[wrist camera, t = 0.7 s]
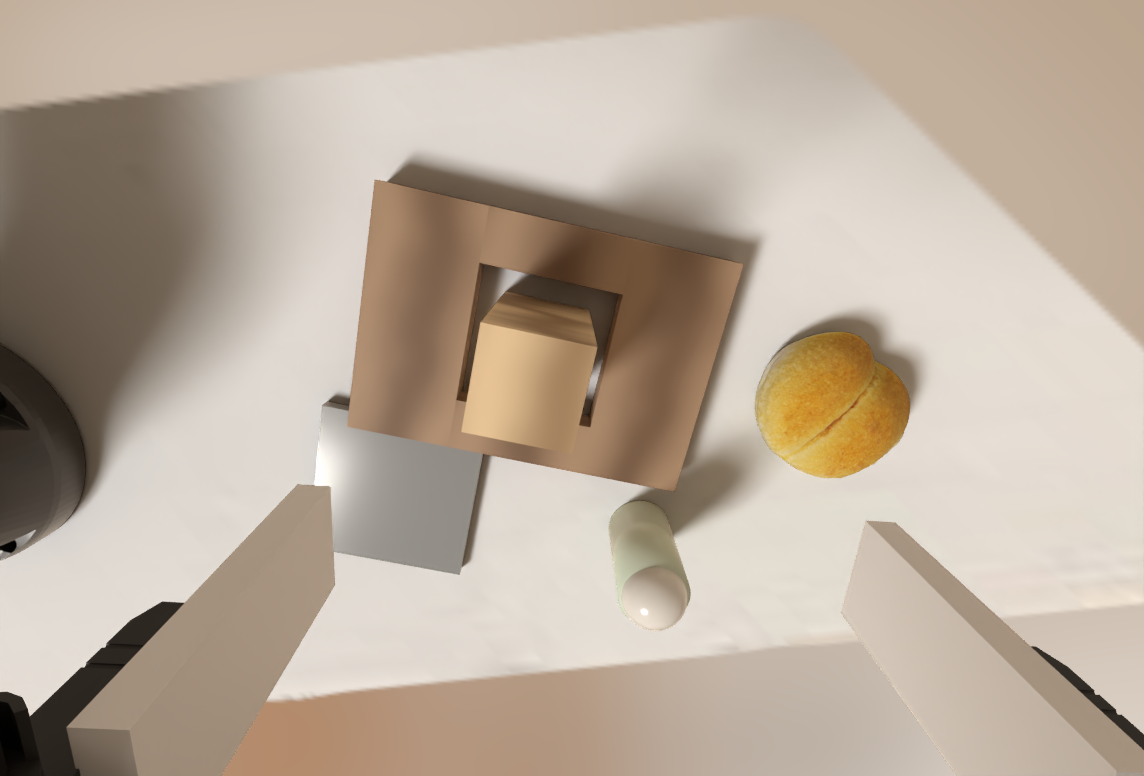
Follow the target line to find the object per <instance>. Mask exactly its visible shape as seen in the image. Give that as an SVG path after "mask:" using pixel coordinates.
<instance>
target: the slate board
mask: <svg viewBox="0 0 1144 776" xmlns="http://www.w3.org/2000/svg"><path fill="white" fill-rule="evenodd" d="M348 414H349V406H348V405H343V404H338V403H333V402H328V401H327V402H326V403H325V404H323V405H322V411H321V421H320V431H319V442H318V452H317V462H316V472H315V483H314V485H315V486H331V508H332V530H333V552H338V553H343V554H349V555H354V556H360V557H365V558H371V559H376V560H382V561H387V562H393V563H398V564H404V565H409V566H415V567H420V568H426V569H431V570H437V571H442V572H447V573H453V574H458V575H460V572H461V569H462V564H463V559H464V554H465V548H466V543H467V538H468V533H469V527H470V522H471V517H472V511H473V506H474V501H475V496H476V490H477V485H478V480H479V475H480V469H481V464H482V459H483V454H481V453H476V452H471V451H466V450H461V449H456V448H451V447H446V446H441V445H436V444H431V443H426V442H421V441H416V440H411V439H406V438H401V437H396V436H391V435H386V434H381V433H376V432H371V431H366V430H360V429H355V428H350V427H347V423H348Z"/></svg>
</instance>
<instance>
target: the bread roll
mask: <svg viewBox="0 0 1144 776" xmlns="http://www.w3.org/2000/svg"><path fill="white" fill-rule="evenodd" d="M909 412H910V400H909V396H908V392H907V390H906V388H905V386H904V384H903V383H902V381H901V380H900V378H899V377H898V376H897V375H896V374H895V373H894V372H893V371H892V370H890V369H889V368H887V367H886V366H884V365H882V364H880V363H878V362H876V361H874V360H873V354H872V351H871V349H870V347H869V345H868V344H867V343H866V342H865V341H864V340H863V339H862V338H861V337H859V336H857V335H854V334H852V333H848V332H828V333H821V334H816V335H812V336H809V337H806V338H803V339H801V340H798V341H796V342H794V343H791V344H789V345H788V346H786V347H784V348H783V349H782V350H781V351H780V352H778V353H777V354H776V355H775V356H774V357H773V359H772V360H771V361H770V363H769V364H768V366H767V367H766V369H765V371H764V372H763V375H762V377H761V380H760V382H759V385H758V389H757V392H756V399H755V416H756V420H757V423H758V427H759V429H760V431H761V435H762V437H763V438H764V440H765V442H766V444H767V445H768V447H769V448H770V449H771V450H772V451H773V452H774V453H775V454H776V455H778V456H779V457H781V458H782V459H783V460H785V461H786V462H787V463H788V464H790V465H791V466H793V467H794V468H796V469H798V470H800V471H802V472H805V473H807V474H810V475H813V476H817V477H821V478H842V477H845V476H848V475H851V474H854V473H857V472H859V471H861V470H863V469H864V468H867V467H869V466H870V465H872V464H875V463H876V461H878V460H879V459H880V458H882V457H883V456H884V455H885V454H887V453H888V452H889V451H890V450H891V449H892V448H893V447H894V446H895V445H897V443H898V442H899V441H900V439H901V438H902V436H903V434H904V430H905V428H906V425H907V423H908V419H909Z"/></svg>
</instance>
